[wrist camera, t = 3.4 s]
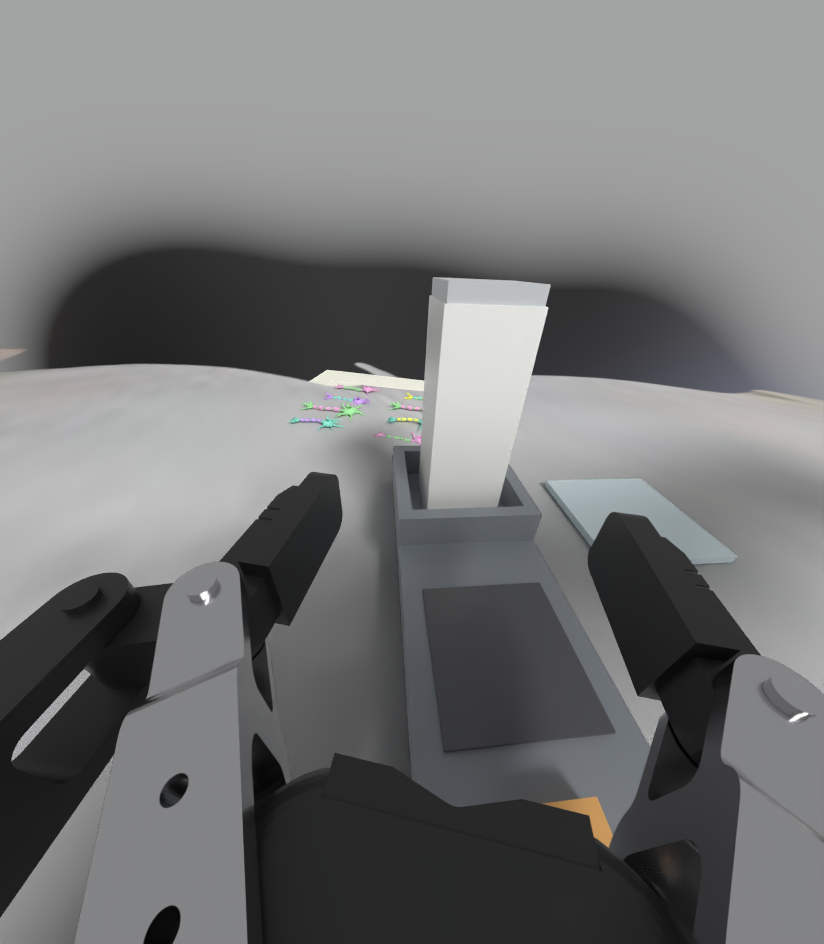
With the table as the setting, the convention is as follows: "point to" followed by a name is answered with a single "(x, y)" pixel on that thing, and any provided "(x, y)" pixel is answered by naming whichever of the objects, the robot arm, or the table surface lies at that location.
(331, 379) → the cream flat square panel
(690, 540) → the mat
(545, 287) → the block
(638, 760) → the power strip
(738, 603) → the table surface
